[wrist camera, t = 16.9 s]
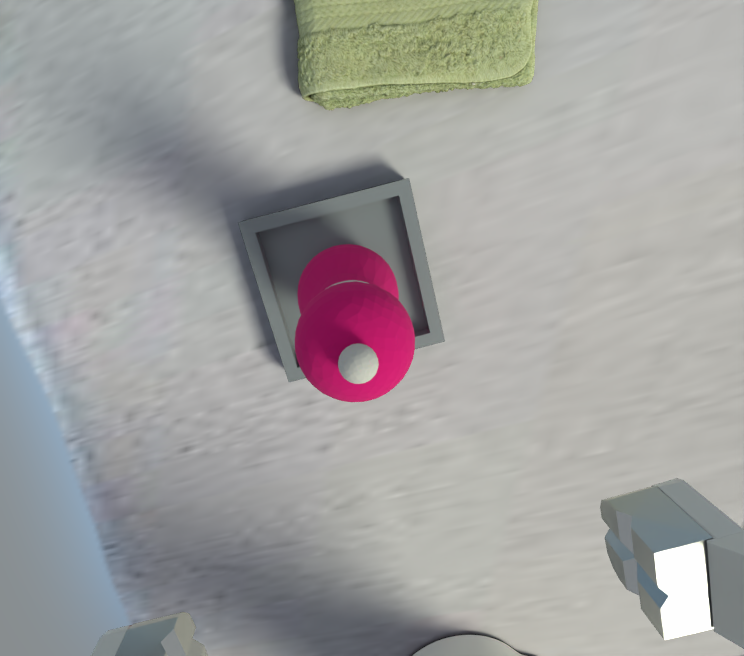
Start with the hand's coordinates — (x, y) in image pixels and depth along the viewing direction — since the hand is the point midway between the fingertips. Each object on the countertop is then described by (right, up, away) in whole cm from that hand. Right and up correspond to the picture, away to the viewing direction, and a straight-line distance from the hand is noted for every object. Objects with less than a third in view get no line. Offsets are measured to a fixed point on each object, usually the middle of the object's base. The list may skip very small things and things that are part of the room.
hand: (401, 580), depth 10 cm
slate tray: (-3, +9, +32) cm, 33 cm away
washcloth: (+2, +28, +28) cm, 39 cm away
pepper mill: (-3, +8, +31) cm, 32 cm away
